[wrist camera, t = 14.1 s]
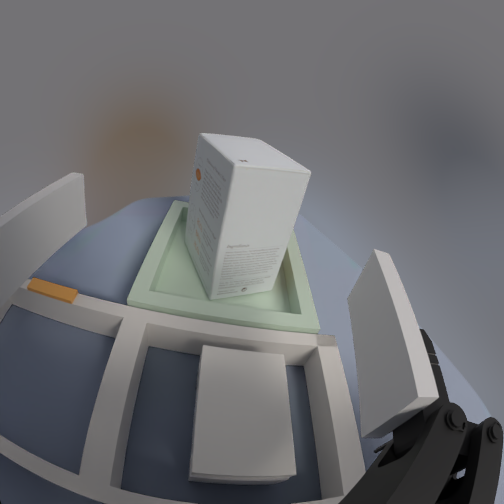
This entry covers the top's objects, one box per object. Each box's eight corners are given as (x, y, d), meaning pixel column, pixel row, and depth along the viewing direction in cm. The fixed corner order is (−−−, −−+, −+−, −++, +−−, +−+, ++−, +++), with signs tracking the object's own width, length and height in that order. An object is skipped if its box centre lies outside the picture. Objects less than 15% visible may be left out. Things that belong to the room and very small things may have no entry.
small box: (272, 293, 23) (315, 172, 17) (207, 302, 20) (235, 164, 14) (236, 238, 28) (261, 138, 22) (182, 241, 26) (198, 131, 20)
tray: (284, 240, 32) (291, 222, 30) (307, 349, 19) (320, 329, 18) (172, 220, 30) (174, 200, 28) (129, 323, 17) (126, 299, 16)
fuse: (267, 381, 17) (284, 353, 15) (274, 484, 11) (297, 476, 9) (197, 373, 16) (202, 343, 14) (188, 480, 10) (190, 474, 8)
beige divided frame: (320, 355, 19) (336, 332, 18) (346, 509, 9) (374, 503, 8) (6, 291, 15) (-4, 264, 14) (-54, 406, 5) (-77, 385, 4)
